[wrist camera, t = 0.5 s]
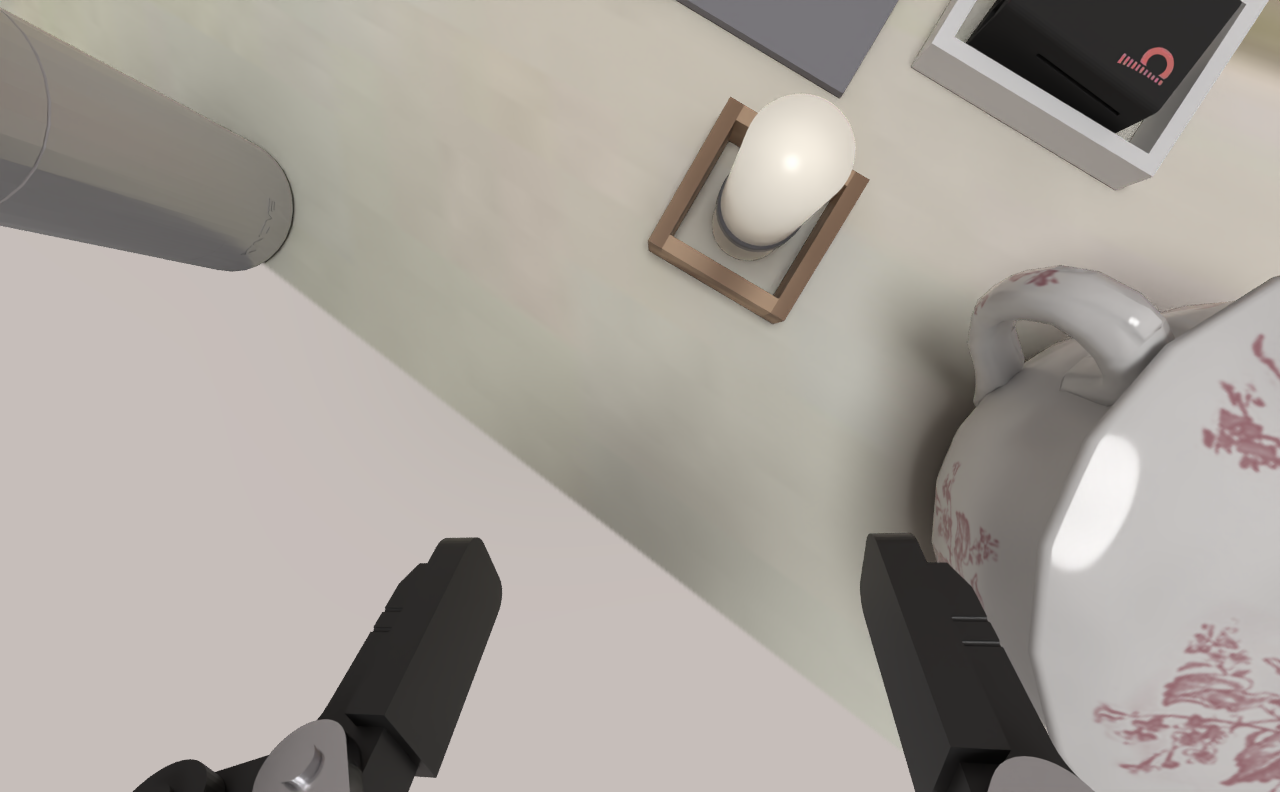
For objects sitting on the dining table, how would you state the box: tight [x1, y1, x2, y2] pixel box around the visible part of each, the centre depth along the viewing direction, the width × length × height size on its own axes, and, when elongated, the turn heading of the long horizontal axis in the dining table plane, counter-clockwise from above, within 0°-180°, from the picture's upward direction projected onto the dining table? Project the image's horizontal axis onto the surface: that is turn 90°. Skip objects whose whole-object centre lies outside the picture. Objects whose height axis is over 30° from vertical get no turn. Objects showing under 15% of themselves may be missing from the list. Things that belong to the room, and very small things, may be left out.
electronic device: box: [966, 0, 1242, 133], centre depth 31 cm, size 7×11×5 cm
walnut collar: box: [648, 97, 869, 324], centre depth 33 cm, size 10×10×3 cm
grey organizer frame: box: [911, 0, 1269, 190], centre depth 32 cm, size 16×12×2 cm
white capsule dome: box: [712, 93, 856, 261], centre depth 28 cm, size 5×5×12 cm
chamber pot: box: [932, 265, 1280, 792], centre depth 25 cm, size 28×28×21 cm
